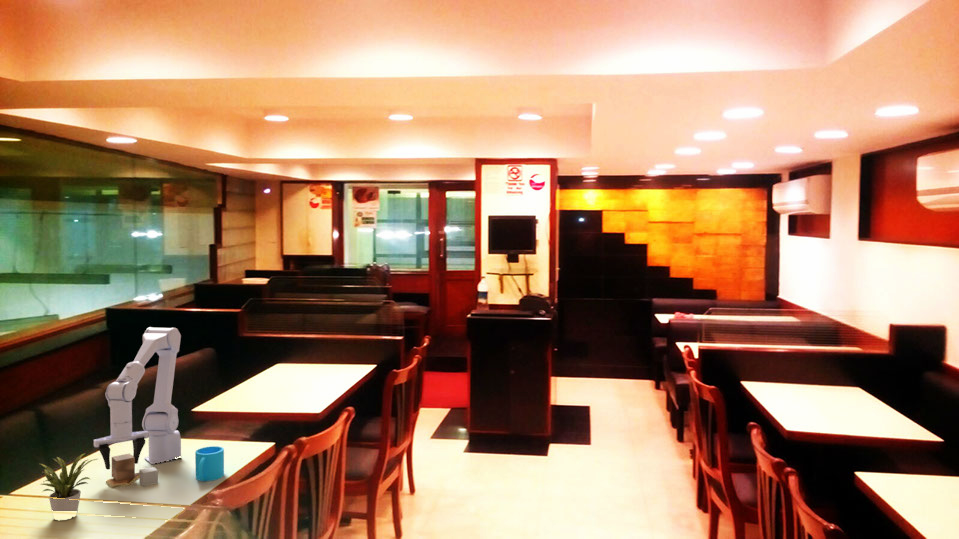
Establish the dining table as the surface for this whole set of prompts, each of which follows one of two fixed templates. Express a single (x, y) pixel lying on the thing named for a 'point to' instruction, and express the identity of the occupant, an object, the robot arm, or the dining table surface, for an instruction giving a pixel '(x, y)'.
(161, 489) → the dining table surface
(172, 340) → the robot arm
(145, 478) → the light-grey block
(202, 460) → the mug
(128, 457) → the walnut block
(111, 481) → the shard
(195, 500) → the dining table surface
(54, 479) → the house plant
